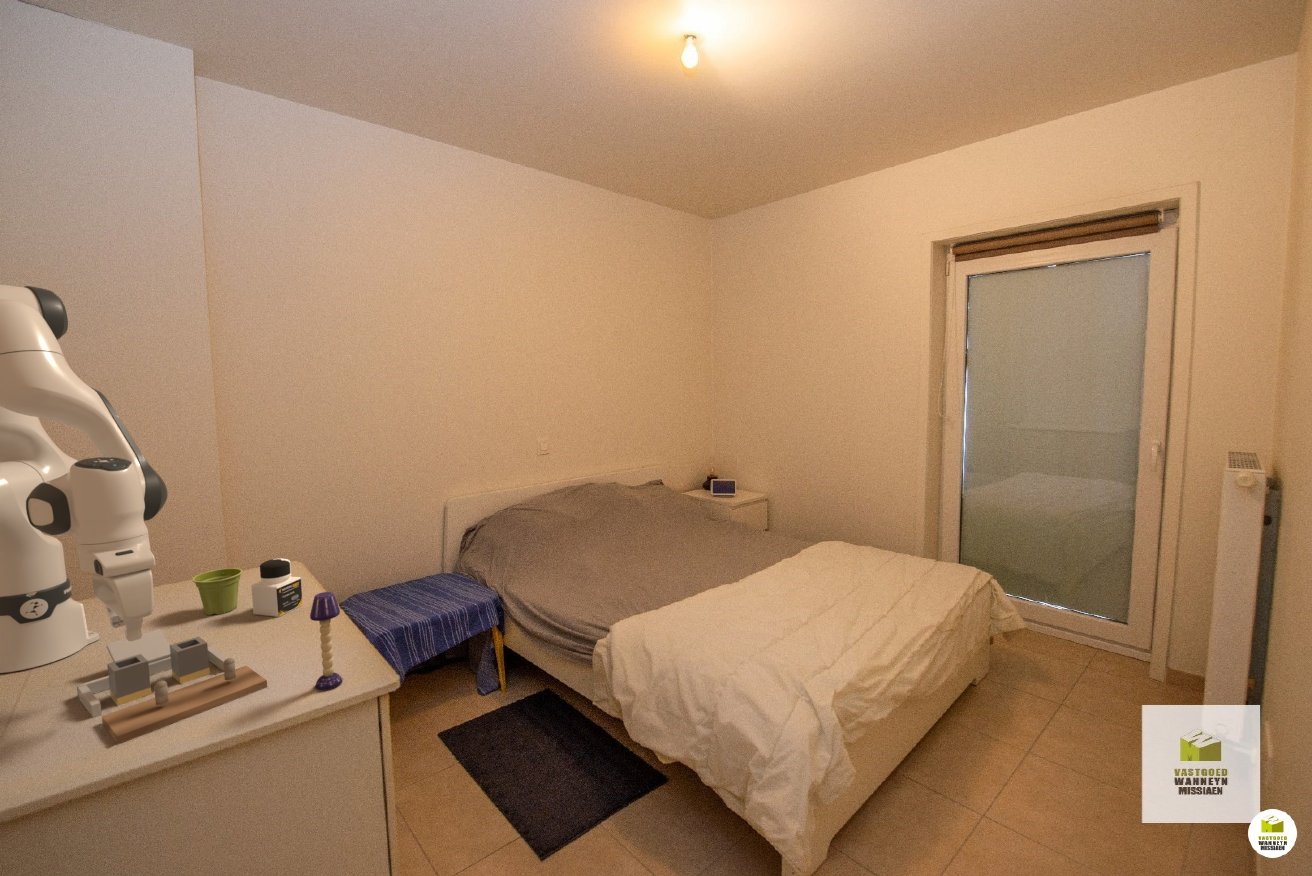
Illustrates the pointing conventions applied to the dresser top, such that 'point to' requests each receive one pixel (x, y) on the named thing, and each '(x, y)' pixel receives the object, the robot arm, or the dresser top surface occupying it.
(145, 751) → the dresser top surface
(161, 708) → the pin board
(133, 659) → the sleeve
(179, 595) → the dresser top surface
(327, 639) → the toy lamp
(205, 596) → the plant pot
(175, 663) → the sleeve
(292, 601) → the medicine bottle
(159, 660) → the tray
